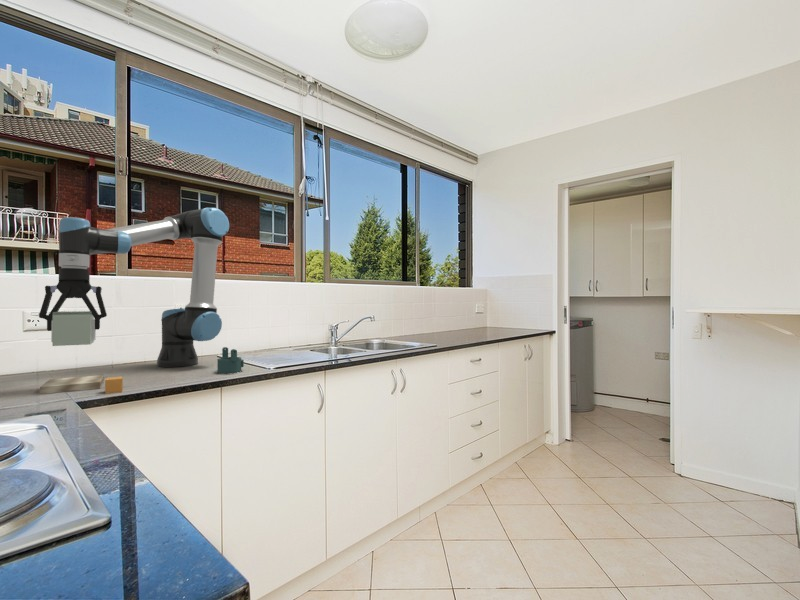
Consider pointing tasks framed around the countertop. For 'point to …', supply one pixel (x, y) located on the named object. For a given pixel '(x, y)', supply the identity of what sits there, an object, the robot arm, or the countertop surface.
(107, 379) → the block
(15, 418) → the countertop surface
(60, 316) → the sage green cube
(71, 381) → the birch board
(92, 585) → the countertop surface
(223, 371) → the bracket
